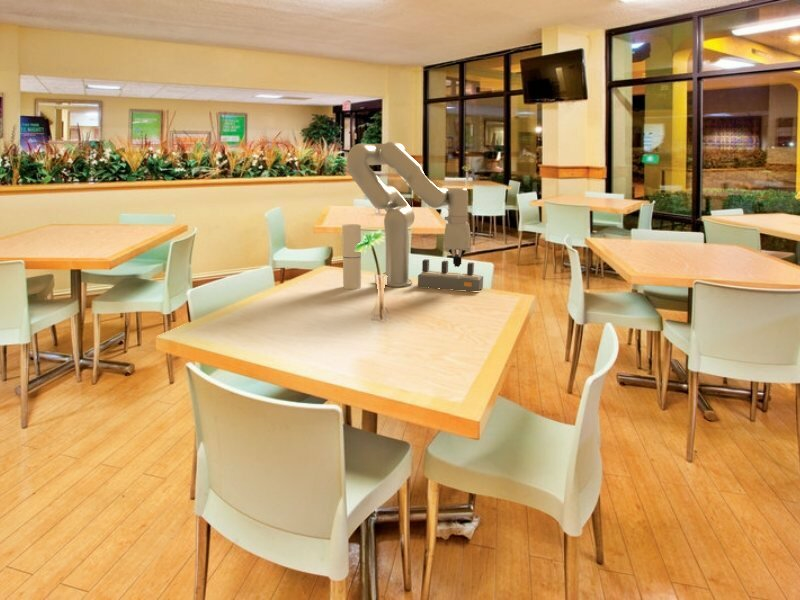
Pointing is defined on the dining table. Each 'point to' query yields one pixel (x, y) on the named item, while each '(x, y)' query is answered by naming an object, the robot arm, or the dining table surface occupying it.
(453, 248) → the robot arm
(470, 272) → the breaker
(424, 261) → the peg
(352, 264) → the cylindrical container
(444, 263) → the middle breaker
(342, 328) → the dining table surface
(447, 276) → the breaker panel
